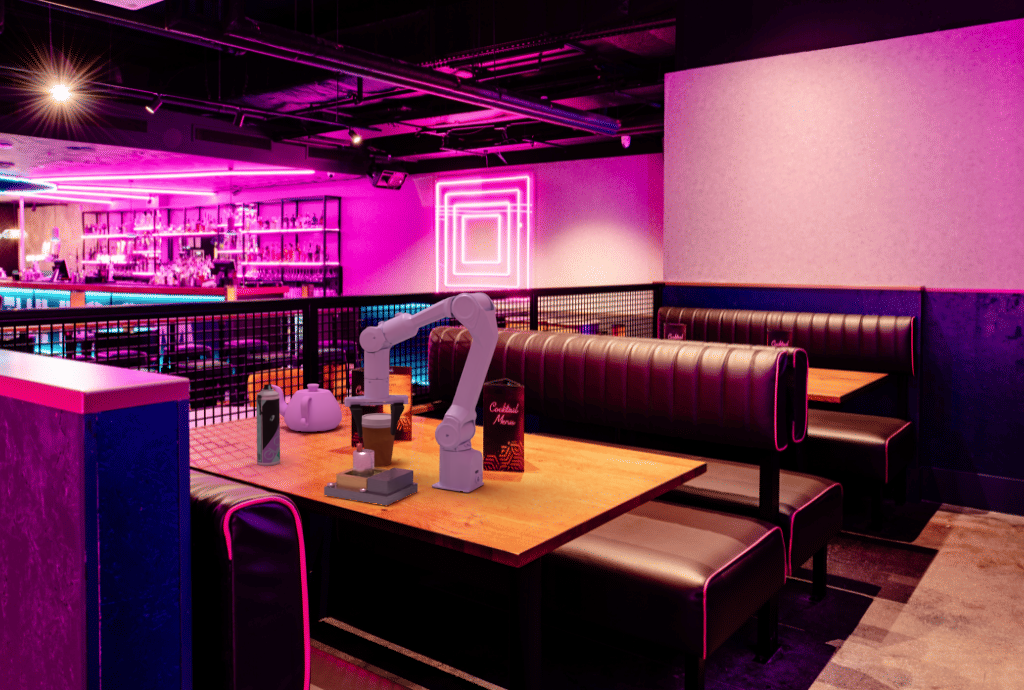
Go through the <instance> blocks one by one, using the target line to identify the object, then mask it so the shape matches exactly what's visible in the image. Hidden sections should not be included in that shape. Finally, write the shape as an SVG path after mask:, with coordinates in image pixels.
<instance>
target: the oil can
mask: <svg viewBox="0 0 1024 690" xmlns="http://www.w3.org/2000/svg"><path fill="white" fill-rule="evenodd" d="M352 468H353V476H359V477H366V478H368V477H371V476H373V475H374V468H375V466H374V451H373V450H370V449H364V448H363V443H361V442H358V443H356V449H354V450H353V452H352Z"/></svg>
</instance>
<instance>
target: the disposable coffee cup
mask: <svg viewBox="0 0 1024 690" xmlns="http://www.w3.org/2000/svg"><path fill="white" fill-rule="evenodd" d="M390 428H391V413H382V412H381V413H380V412H379V413H378V412H376V413H367V414H364V415H363V414H362V432H363V435H362V442H363V443H362V444H363V449H370V450H373V451H374V467H383V466H384V467H385V466H388V465H390V464H392V459H393V451H394V444H395V436H396V434H395V435H391V431H390Z"/></svg>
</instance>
